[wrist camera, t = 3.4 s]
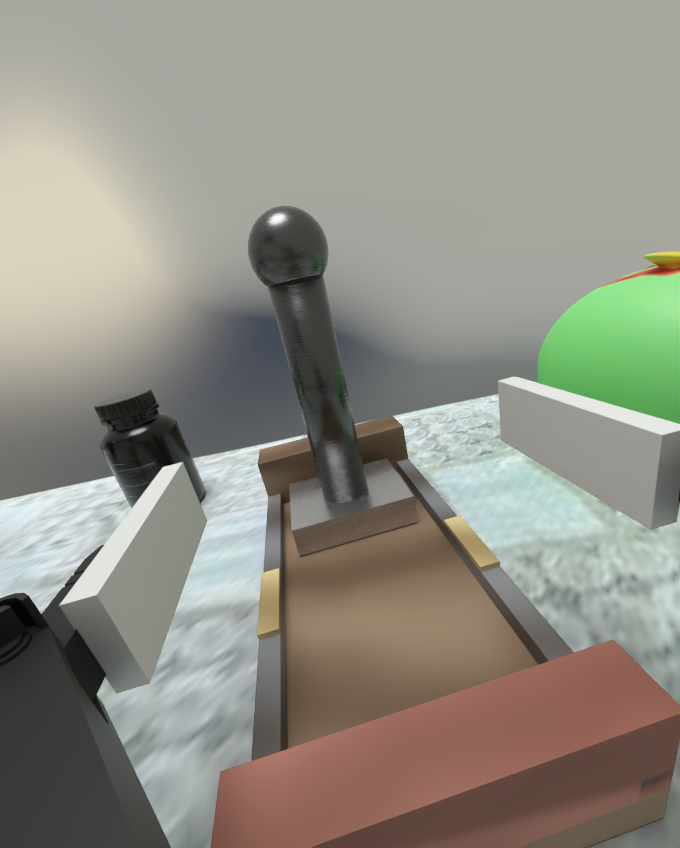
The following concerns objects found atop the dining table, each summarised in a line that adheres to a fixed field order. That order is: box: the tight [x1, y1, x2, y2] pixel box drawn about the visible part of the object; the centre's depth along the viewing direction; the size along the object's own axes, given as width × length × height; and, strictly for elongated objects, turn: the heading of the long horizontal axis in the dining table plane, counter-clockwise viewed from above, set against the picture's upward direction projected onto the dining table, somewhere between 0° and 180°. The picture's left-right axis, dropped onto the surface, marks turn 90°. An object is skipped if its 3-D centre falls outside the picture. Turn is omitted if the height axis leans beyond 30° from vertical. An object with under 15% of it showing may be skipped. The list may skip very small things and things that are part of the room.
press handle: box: [248, 206, 418, 556], centre depth 22 cm, size 6×8×20 cm
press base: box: [211, 416, 680, 848], centre depth 20 cm, size 24×12×6 cm, turn 9°
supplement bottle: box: [95, 389, 205, 508], centre depth 34 cm, size 7×7×12 cm
